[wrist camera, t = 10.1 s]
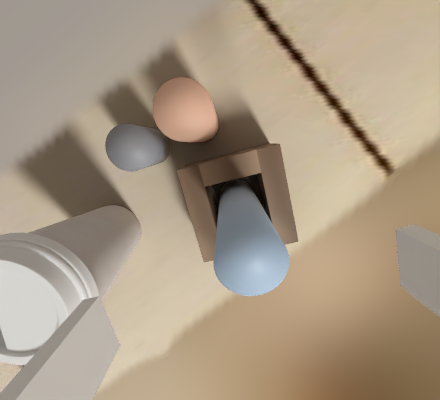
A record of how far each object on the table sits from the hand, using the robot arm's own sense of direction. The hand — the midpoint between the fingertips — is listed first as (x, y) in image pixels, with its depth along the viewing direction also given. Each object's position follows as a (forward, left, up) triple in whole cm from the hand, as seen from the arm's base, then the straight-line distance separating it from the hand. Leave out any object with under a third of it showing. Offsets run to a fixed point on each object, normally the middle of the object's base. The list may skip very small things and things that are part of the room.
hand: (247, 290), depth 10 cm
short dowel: (-8, +8, -18) cm, 21 cm away
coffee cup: (-15, -1, -19) cm, 24 cm away
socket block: (0, 0, -18) cm, 18 cm away
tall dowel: (0, 0, -18) cm, 18 cm away
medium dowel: (-2, +9, -18) cm, 20 cm away
